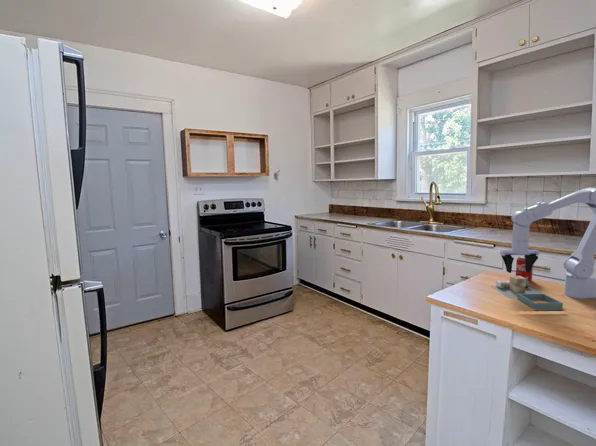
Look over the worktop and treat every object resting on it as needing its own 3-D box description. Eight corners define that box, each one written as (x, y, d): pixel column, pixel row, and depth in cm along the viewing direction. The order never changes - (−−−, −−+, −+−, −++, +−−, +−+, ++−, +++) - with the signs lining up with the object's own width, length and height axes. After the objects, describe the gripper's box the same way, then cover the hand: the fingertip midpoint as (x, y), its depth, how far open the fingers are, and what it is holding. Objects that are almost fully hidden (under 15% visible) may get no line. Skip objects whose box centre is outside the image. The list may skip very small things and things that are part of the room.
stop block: (519, 289, 139) (519, 275, 139) (525, 292, 135) (526, 278, 135) (509, 289, 140) (510, 275, 139) (515, 292, 136) (515, 278, 135)
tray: (543, 300, 129) (543, 293, 129) (562, 310, 119) (562, 303, 119) (517, 301, 130) (517, 293, 129) (533, 311, 120) (534, 303, 119)
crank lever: (525, 285, 143) (525, 279, 143) (530, 288, 140) (530, 282, 139) (496, 285, 144) (496, 279, 144) (500, 288, 140) (500, 282, 140)
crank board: (527, 287, 144) (528, 285, 144) (550, 299, 130) (550, 297, 130) (490, 288, 145) (490, 286, 144) (509, 300, 131) (509, 297, 131)
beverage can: (512, 280, 154) (513, 255, 153) (524, 279, 155) (525, 254, 153) (522, 284, 148) (524, 258, 146) (535, 283, 149) (537, 258, 147)
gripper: (532, 237, 138) (530, 269, 140) (496, 238, 139) (495, 269, 141) (543, 241, 131) (541, 273, 133) (506, 241, 132) (504, 274, 134)
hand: (518, 271), depth 136 cm, fingers open, 7 cm apart
